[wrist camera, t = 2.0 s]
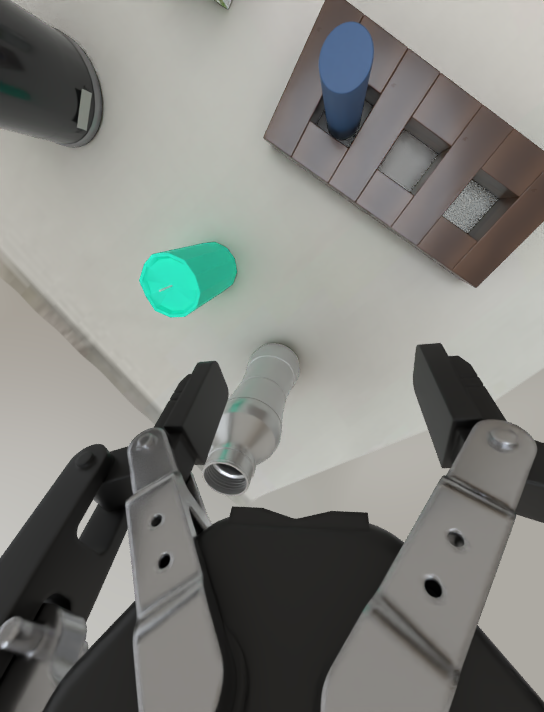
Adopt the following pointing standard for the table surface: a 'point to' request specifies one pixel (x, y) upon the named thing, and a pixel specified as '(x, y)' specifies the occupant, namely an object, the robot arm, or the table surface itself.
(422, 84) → the rack
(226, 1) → the syrup box
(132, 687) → the robot arm
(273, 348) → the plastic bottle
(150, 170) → the table surface
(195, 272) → the candle
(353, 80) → the peg
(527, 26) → the table surface
